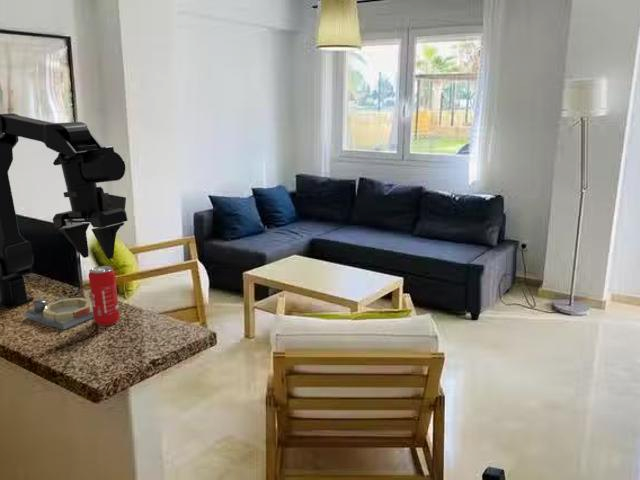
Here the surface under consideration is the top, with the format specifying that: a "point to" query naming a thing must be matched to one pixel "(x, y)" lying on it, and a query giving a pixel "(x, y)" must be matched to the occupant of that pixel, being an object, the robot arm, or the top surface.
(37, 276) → the top surface
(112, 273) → the beverage can
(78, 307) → the grey plate with ring
